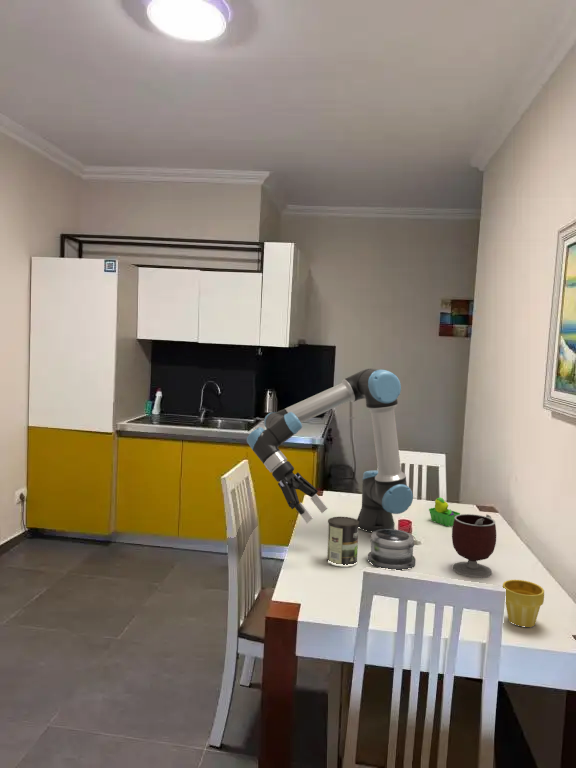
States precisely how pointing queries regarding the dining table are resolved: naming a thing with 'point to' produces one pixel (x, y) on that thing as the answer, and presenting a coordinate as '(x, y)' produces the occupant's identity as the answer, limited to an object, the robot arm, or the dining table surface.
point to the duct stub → (392, 549)
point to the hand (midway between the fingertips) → (317, 515)
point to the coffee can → (342, 540)
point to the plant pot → (523, 601)
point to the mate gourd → (473, 543)
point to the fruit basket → (442, 513)
